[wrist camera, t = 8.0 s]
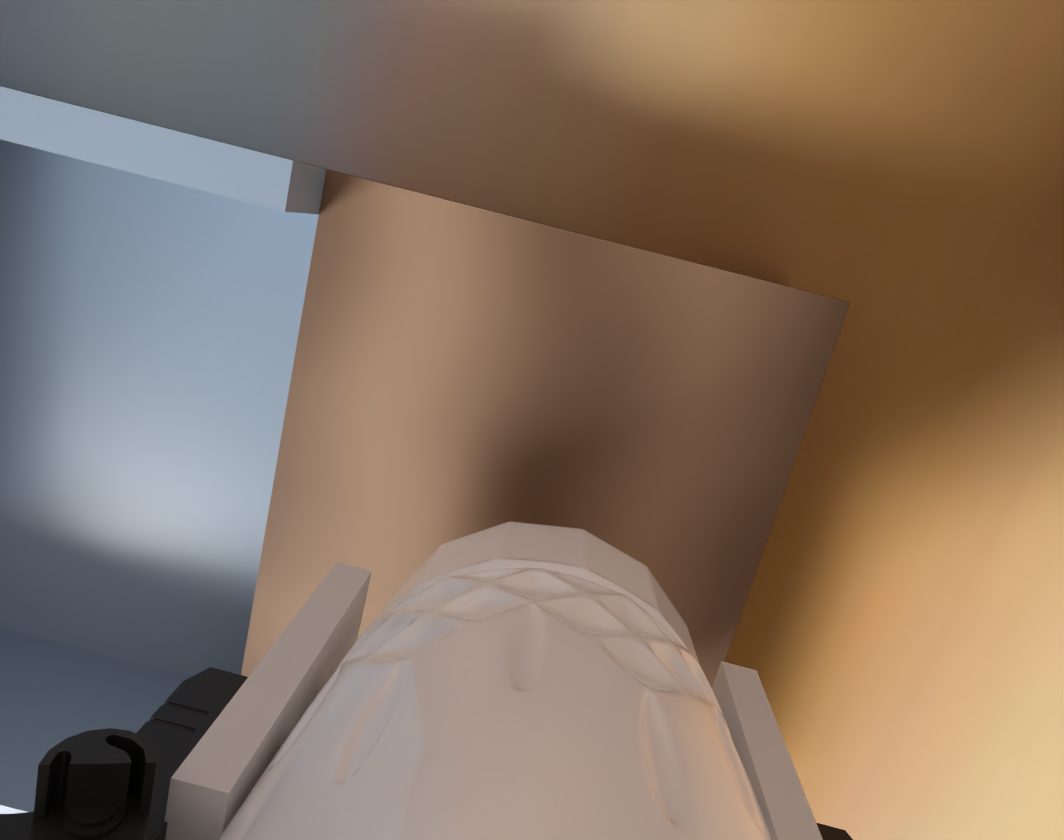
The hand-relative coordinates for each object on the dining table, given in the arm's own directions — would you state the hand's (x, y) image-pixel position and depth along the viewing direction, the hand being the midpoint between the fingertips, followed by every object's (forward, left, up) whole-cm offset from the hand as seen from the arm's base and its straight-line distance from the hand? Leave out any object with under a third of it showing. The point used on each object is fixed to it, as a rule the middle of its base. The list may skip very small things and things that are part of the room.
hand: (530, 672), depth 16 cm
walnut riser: (-1, 0, -8) cm, 8 cm away
